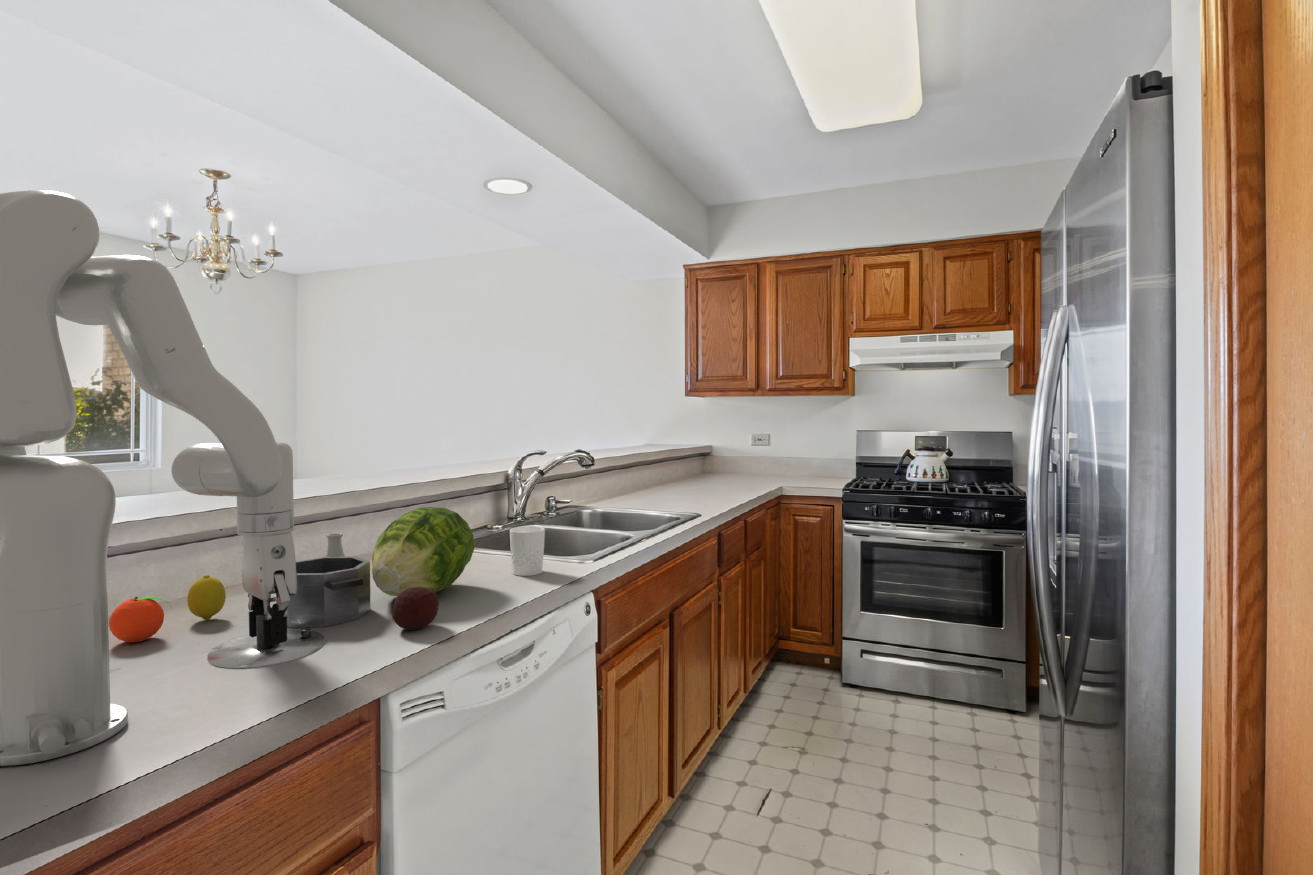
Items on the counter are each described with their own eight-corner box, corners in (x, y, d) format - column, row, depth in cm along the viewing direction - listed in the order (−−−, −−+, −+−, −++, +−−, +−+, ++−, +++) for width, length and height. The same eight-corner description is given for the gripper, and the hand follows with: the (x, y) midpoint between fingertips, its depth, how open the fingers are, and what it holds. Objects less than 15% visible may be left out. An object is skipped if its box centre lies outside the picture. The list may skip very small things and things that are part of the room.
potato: (447, 624, 114) (447, 583, 114) (417, 638, 107) (416, 595, 107) (413, 619, 117) (412, 579, 117) (381, 633, 110) (380, 591, 109)
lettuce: (339, 609, 123) (346, 524, 120) (406, 562, 146) (413, 489, 142) (426, 632, 121) (435, 546, 117) (480, 580, 144) (489, 507, 140)
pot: (388, 616, 118) (387, 566, 118) (305, 636, 107) (304, 581, 107) (340, 596, 131) (340, 551, 130) (262, 612, 120) (261, 563, 120)
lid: (341, 649, 103) (341, 612, 103) (227, 679, 91) (226, 638, 91) (301, 627, 113) (301, 594, 113) (193, 652, 101) (192, 615, 101)
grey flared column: (317, 577, 146) (316, 532, 145) (353, 574, 149) (352, 530, 148) (315, 585, 139) (314, 538, 139) (353, 581, 142) (352, 535, 142)
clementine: (170, 629, 111) (169, 587, 110) (175, 640, 106) (174, 596, 105) (108, 640, 105) (106, 596, 105) (110, 652, 100) (109, 605, 100)
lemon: (206, 626, 112) (205, 579, 112) (179, 623, 113) (178, 577, 113) (233, 616, 118) (232, 572, 117) (207, 614, 119) (206, 570, 119)
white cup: (552, 571, 152) (551, 528, 152) (528, 578, 146) (528, 533, 145) (526, 567, 156) (526, 525, 156) (502, 573, 150) (502, 530, 149)
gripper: (314, 525, 99) (316, 645, 99) (272, 513, 110) (273, 621, 110) (258, 532, 93) (261, 659, 94) (220, 519, 104) (222, 632, 105)
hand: (268, 637), depth 102 cm, fingers open, 5 cm apart
